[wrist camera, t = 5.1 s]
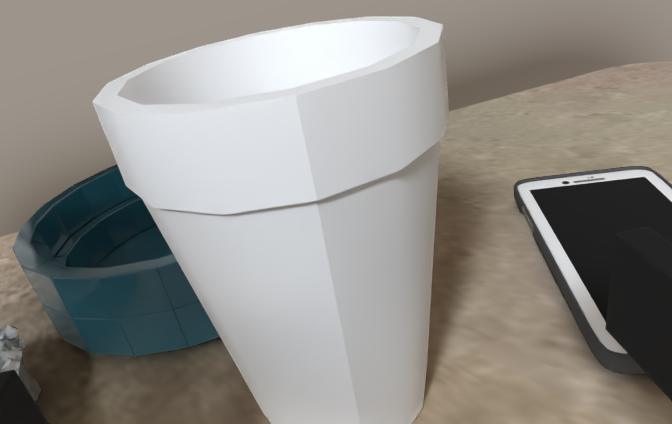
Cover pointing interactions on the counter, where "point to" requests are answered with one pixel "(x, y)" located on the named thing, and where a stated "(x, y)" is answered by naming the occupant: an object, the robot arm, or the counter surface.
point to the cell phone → (593, 238)
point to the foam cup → (300, 203)
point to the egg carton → (16, 359)
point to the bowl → (109, 272)
